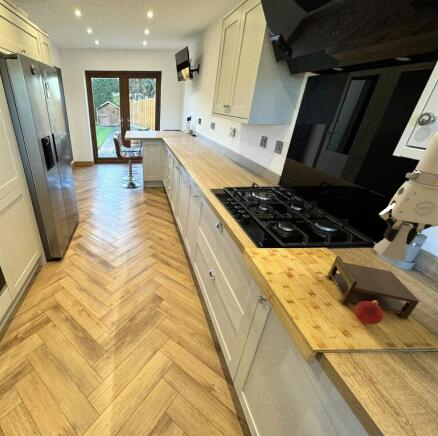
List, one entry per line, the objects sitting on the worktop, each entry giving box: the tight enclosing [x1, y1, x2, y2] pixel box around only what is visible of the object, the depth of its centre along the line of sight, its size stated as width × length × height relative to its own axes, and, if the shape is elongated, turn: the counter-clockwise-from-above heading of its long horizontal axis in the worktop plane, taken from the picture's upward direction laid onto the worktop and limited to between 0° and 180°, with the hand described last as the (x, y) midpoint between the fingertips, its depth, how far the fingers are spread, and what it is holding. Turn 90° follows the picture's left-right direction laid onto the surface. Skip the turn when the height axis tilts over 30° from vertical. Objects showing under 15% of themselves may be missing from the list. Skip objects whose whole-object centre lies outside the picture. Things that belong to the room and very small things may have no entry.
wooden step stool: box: [326, 255, 420, 320], centre depth 75 cm, size 16×14×9 cm
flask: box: [373, 221, 414, 261], centre depth 68 cm, size 7×7×10 cm
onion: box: [354, 300, 385, 325], centre depth 65 cm, size 6×6×8 cm
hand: (396, 240), depth 68 cm, fingers closed on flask, 3 cm apart
